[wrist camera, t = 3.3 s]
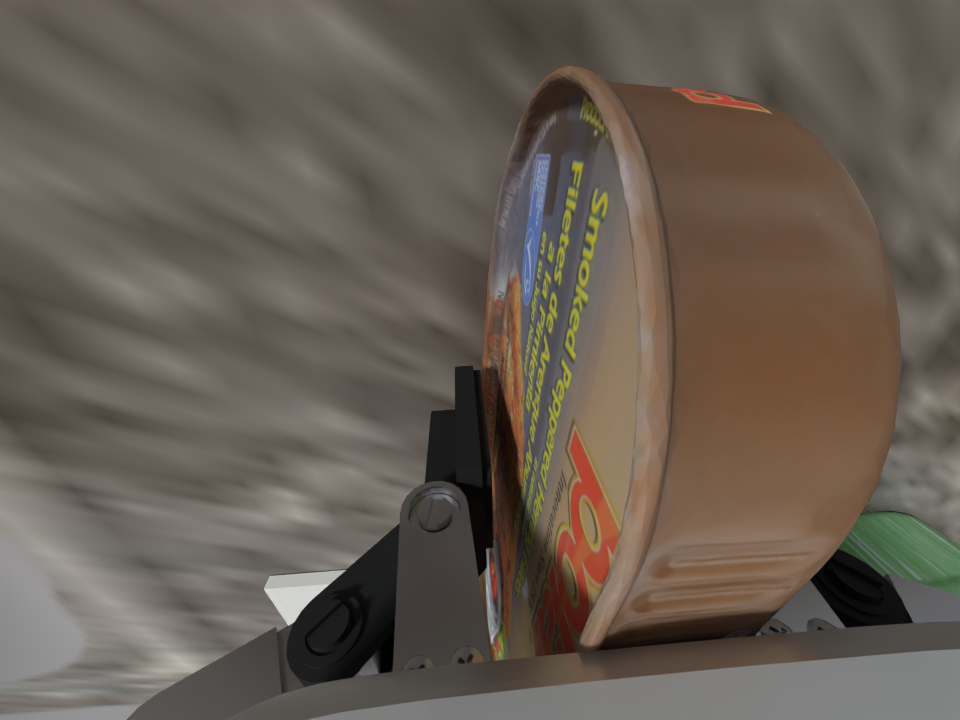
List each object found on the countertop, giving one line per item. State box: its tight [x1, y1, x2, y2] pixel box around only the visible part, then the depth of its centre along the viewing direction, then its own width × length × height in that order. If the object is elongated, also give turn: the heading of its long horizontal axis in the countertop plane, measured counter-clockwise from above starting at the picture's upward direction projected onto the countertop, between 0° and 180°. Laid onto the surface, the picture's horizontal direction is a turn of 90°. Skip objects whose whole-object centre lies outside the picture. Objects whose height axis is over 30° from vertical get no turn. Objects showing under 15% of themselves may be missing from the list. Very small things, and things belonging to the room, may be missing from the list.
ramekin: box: [838, 512, 960, 595], centre depth 17 cm, size 9×9×4 cm
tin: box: [479, 66, 902, 661], centre depth 8 cm, size 15×3×8 cm, turn 177°
